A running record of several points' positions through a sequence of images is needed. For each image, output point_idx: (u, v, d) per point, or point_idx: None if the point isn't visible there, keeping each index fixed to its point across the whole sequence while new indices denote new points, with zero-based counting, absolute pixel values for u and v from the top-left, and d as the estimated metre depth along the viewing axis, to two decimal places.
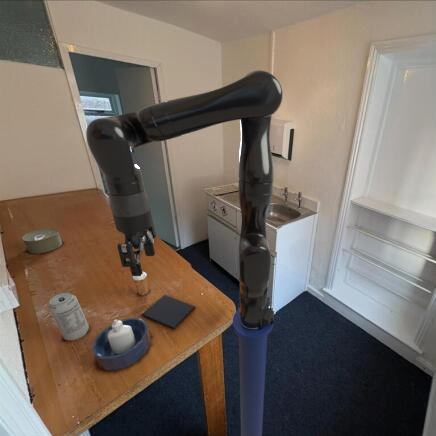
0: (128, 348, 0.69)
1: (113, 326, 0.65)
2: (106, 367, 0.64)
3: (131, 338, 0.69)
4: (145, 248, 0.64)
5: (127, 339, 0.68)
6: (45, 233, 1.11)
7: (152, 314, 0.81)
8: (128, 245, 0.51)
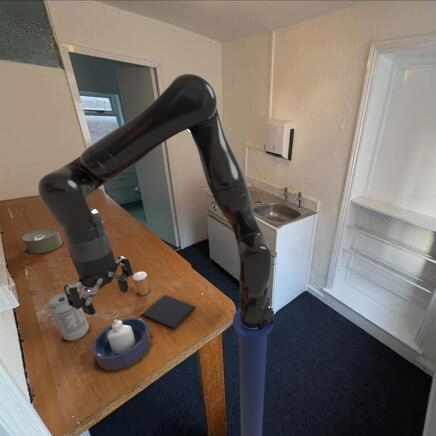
0: (128, 348, 0.69)
1: (113, 326, 0.65)
2: (106, 367, 0.64)
3: (131, 338, 0.69)
4: (118, 284, 0.65)
5: (127, 339, 0.68)
6: (45, 233, 1.11)
7: (152, 314, 0.81)
8: (70, 289, 0.52)
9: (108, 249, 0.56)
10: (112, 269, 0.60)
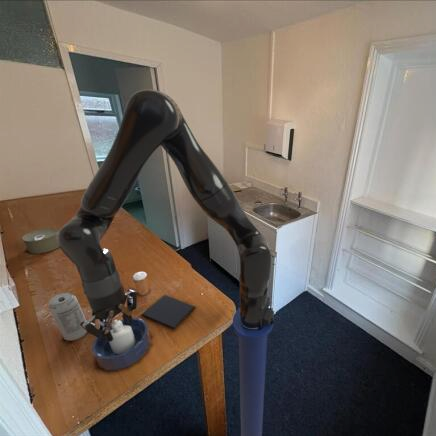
0: (128, 348, 0.69)
1: (113, 326, 0.65)
2: (106, 367, 0.64)
3: (131, 338, 0.69)
4: (123, 318, 0.68)
5: (127, 339, 0.68)
6: (45, 233, 1.11)
7: (152, 314, 0.81)
8: (86, 326, 0.57)
9: (119, 284, 0.60)
10: (122, 300, 0.65)
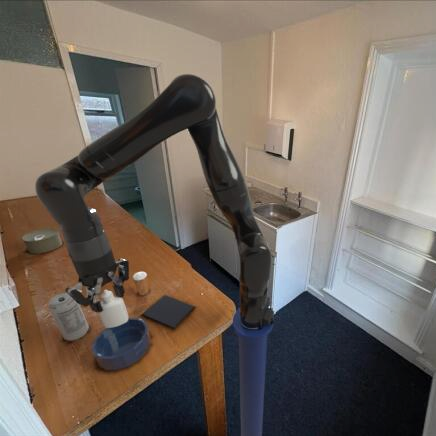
0: (120, 322, 0.64)
1: (103, 296, 0.60)
2: (106, 367, 0.64)
3: (123, 311, 0.64)
4: (114, 289, 0.64)
5: (118, 312, 0.63)
6: (45, 233, 1.11)
7: (152, 314, 0.81)
8: (71, 292, 0.52)
9: (107, 248, 0.55)
10: (112, 268, 0.60)
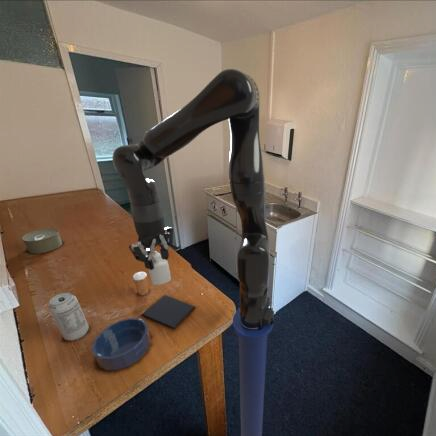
0: (165, 280, 0.76)
1: (153, 256, 0.72)
2: (106, 367, 0.64)
3: (168, 271, 0.76)
4: (161, 252, 0.75)
5: (164, 271, 0.75)
6: (45, 233, 1.11)
7: (152, 314, 0.81)
8: (134, 248, 0.64)
9: (161, 214, 0.67)
10: (161, 233, 0.72)
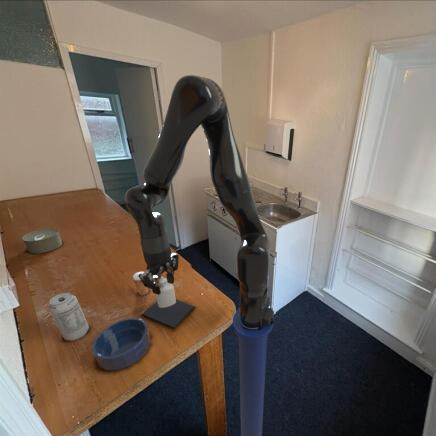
0: (170, 303, 0.81)
1: (160, 282, 0.77)
2: (106, 367, 0.64)
3: (173, 294, 0.81)
4: (167, 277, 0.80)
5: (170, 295, 0.80)
6: (45, 233, 1.11)
7: (152, 314, 0.81)
8: (144, 277, 0.69)
9: (168, 244, 0.72)
10: (168, 260, 0.77)
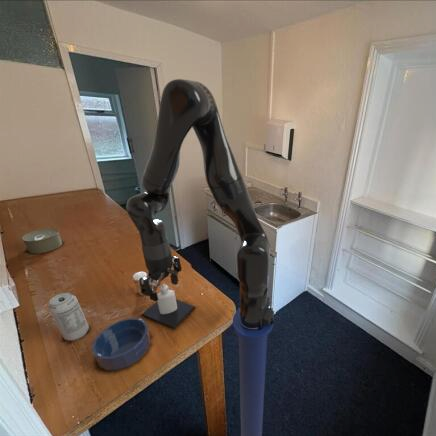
0: (172, 309, 0.82)
1: (162, 289, 0.78)
2: (106, 367, 0.64)
3: (174, 301, 0.82)
4: (171, 278, 0.82)
5: (171, 302, 0.81)
6: (45, 233, 1.11)
7: (152, 314, 0.81)
8: (145, 280, 0.70)
9: (169, 250, 0.73)
10: (169, 266, 0.78)
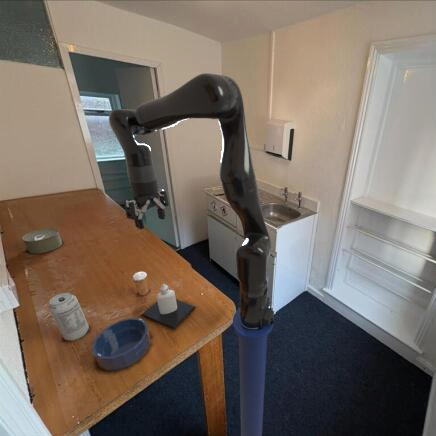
0: (172, 309, 0.82)
1: (162, 289, 0.78)
2: (106, 367, 0.64)
3: (174, 301, 0.82)
4: (158, 212, 0.83)
5: (171, 302, 0.81)
6: (45, 233, 1.11)
7: (152, 314, 0.81)
8: (129, 202, 0.70)
9: (155, 177, 0.74)
10: (155, 196, 0.78)
